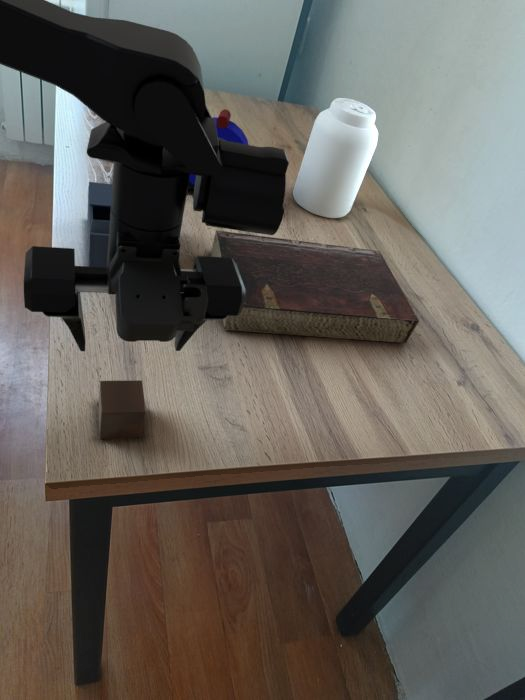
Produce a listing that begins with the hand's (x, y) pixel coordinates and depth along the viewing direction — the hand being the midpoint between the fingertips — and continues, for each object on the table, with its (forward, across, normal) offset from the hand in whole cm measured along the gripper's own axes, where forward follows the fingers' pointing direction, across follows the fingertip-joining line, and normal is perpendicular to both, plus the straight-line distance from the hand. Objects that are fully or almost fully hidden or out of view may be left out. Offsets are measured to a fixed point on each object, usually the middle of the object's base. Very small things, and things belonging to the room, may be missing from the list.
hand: (131, 348), depth 54 cm
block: (+11, 0, -1) cm, 11 cm away
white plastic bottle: (+11, +44, +53) cm, 70 cm away
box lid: (+2, +3, +24) cm, 24 cm away
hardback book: (+11, +30, +22) cm, 39 cm away
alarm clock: (+11, +21, +55) cm, 60 cm away
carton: (+11, +3, +33) cm, 35 cm away
